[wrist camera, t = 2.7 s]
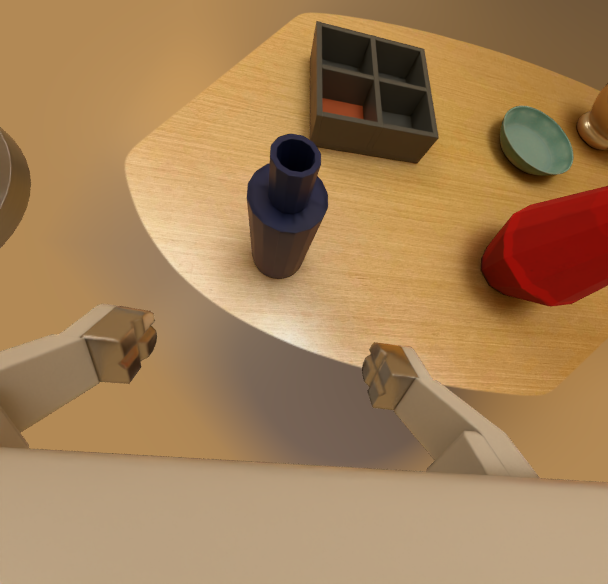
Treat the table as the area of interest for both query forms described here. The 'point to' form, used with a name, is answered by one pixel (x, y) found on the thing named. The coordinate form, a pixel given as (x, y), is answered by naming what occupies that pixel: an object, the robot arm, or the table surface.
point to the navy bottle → (286, 206)
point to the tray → (370, 95)
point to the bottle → (552, 250)
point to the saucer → (535, 142)
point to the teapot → (596, 122)
